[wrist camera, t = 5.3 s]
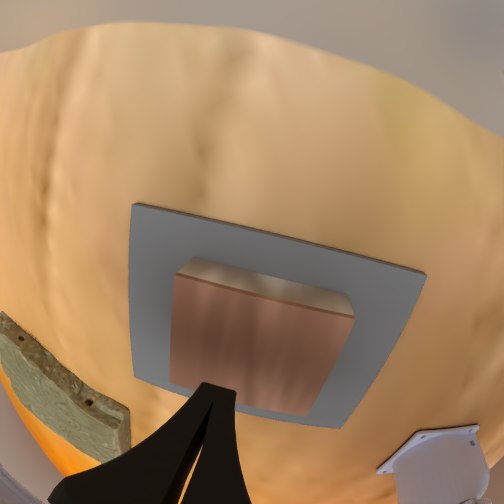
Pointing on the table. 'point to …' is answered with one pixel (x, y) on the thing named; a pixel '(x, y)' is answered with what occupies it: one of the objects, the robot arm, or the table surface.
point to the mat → (276, 265)
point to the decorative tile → (62, 397)
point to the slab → (255, 335)
